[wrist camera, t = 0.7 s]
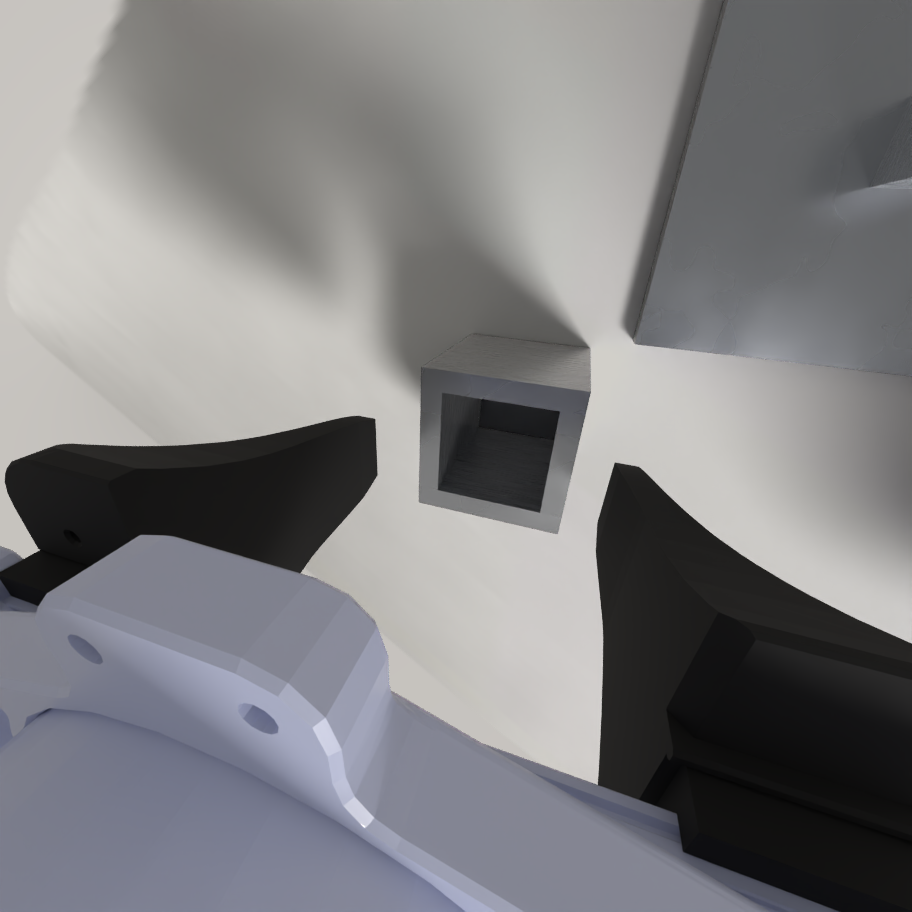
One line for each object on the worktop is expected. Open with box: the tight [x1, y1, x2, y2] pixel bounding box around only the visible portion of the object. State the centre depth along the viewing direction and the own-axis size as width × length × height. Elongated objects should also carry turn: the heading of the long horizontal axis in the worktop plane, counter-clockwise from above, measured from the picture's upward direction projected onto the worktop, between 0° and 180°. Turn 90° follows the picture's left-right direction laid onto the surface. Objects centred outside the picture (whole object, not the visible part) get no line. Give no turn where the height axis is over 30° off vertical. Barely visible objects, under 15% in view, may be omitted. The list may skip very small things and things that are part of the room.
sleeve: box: [419, 334, 591, 534], centre depth 15 cm, size 5×5×6 cm
